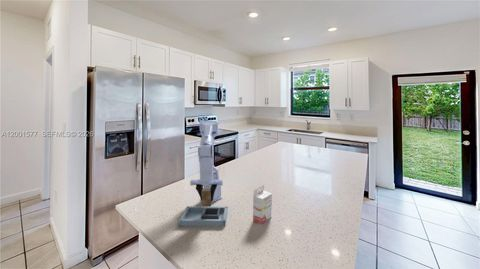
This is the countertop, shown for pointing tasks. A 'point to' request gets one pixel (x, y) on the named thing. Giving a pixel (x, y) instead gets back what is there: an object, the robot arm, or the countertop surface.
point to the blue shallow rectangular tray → (204, 216)
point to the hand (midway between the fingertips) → (207, 200)
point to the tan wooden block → (206, 197)
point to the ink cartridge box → (261, 205)
